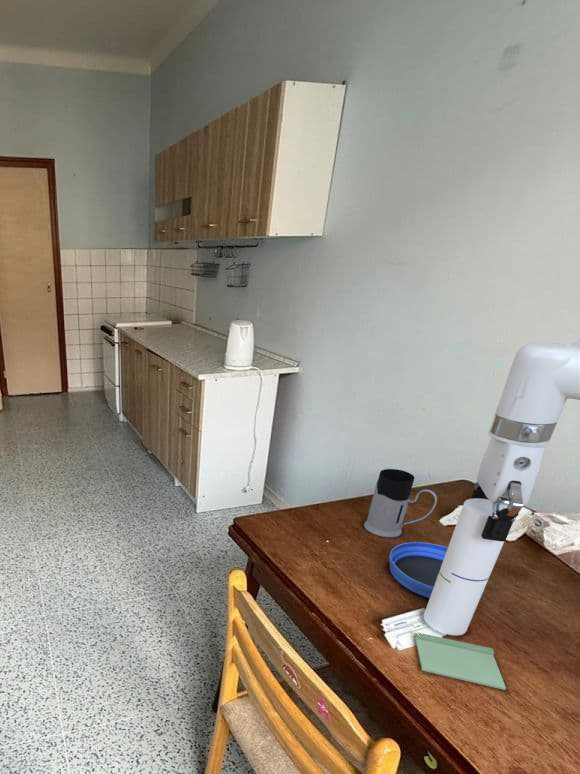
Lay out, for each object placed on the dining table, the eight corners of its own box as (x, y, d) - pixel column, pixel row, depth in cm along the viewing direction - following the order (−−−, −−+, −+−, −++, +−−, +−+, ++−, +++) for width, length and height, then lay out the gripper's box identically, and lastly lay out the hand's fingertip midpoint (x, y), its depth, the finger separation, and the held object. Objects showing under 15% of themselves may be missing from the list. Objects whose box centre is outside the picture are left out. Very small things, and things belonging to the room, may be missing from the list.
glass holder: (374, 516, 126) (387, 464, 119) (430, 537, 117) (448, 483, 110) (357, 527, 122) (370, 474, 115) (414, 550, 112) (432, 494, 105)
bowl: (368, 565, 107) (371, 552, 105) (426, 548, 113) (430, 535, 111) (439, 614, 92) (444, 600, 91) (502, 592, 98) (508, 578, 96)
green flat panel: (490, 651, 84) (492, 647, 83) (505, 690, 76) (507, 686, 76) (414, 634, 88) (415, 630, 87) (421, 670, 80) (423, 666, 80)
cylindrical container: (456, 641, 86) (505, 523, 74) (416, 619, 91) (456, 506, 79) (473, 624, 90) (522, 510, 78) (434, 604, 95) (474, 494, 83)
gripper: (575, 451, 64) (528, 556, 72) (531, 414, 78) (496, 505, 86) (508, 445, 66) (470, 547, 74) (478, 410, 80) (449, 499, 88)
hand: (484, 524), depth 80 cm, fingers open, 9 cm apart
